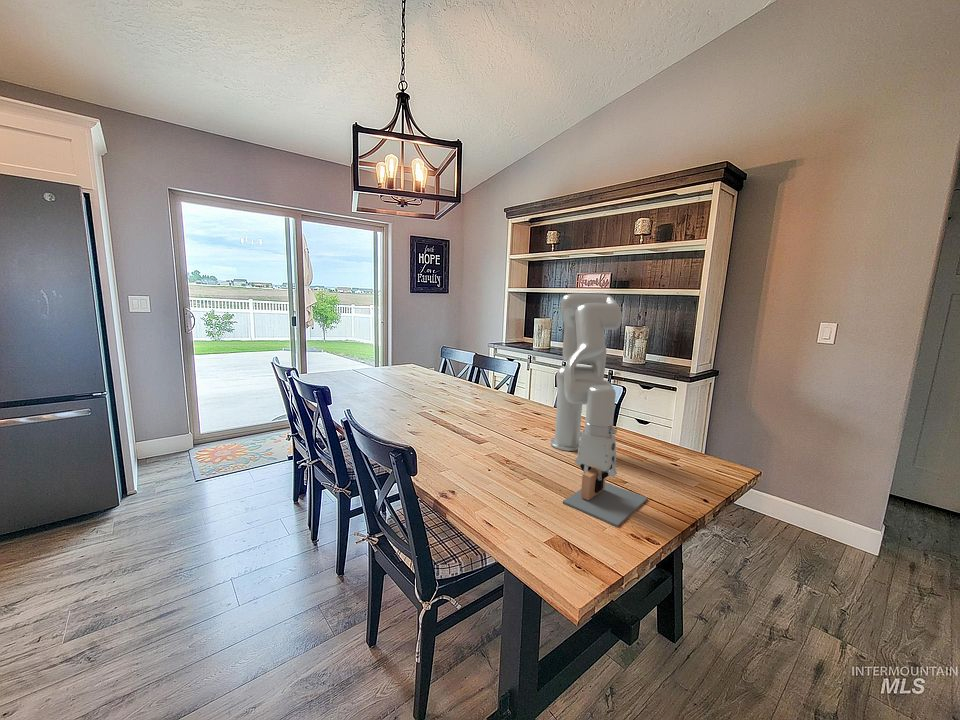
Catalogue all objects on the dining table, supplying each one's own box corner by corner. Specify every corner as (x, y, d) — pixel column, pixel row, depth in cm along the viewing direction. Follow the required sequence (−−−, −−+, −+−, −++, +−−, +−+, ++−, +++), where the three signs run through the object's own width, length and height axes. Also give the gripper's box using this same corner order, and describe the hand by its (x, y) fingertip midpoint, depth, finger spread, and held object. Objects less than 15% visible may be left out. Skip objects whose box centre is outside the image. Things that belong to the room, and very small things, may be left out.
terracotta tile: (597, 485, 119) (599, 463, 118) (604, 488, 117) (606, 466, 116) (580, 497, 111) (582, 474, 110) (588, 500, 110) (590, 477, 109)
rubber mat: (596, 480, 124) (596, 478, 124) (647, 499, 113) (647, 497, 113) (562, 503, 110) (562, 501, 110) (617, 527, 99) (617, 524, 99)
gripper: (631, 433, 108) (625, 495, 111) (579, 419, 119) (575, 476, 122) (620, 439, 103) (613, 504, 106) (566, 424, 114) (562, 484, 117)
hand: (593, 488), depth 114 cm, fingers closed on terracotta tile, 2 cm apart
